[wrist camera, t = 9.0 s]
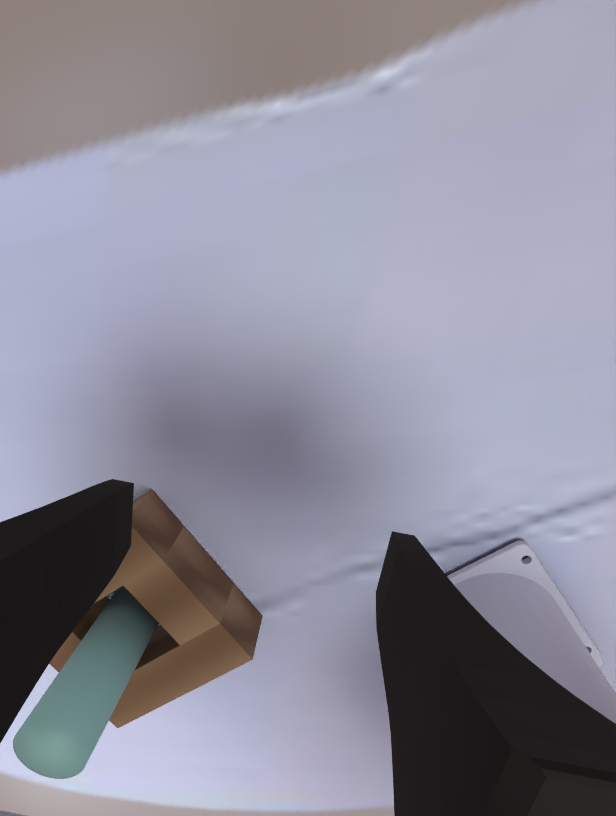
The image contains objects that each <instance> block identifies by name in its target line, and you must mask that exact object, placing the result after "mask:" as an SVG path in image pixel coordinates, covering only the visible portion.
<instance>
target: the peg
mask: <svg viewBox="0 0 616 816" xmlns="http://www.w3.org/2000/svg"><path fill="white" fill-rule="evenodd" d="M158 624H159V623H158V621H157V620H156V619H155V618H154V617H153V616H152V615H151V614H150V613H149V612H148V611H147V610H146V609H145V608H144V607H143V606H142V605H141V604H140V603H139V601H138V600H137V599H136V598H135V597H134V596H133V595H132V594H131V593H130V592H129V591H128V590H127V589H126V588H125V587H124V586H121V587H120V588H118V589H117V590H116V592H115V593H114V595H113V596H112V598H111V599H110V600H109V602H108V603H107V605H106V606H105V608H104V609H103V611H102V612H101V613H100V615H99V616H98V618H97V619H96V621H95V622H94V623H93V625H92V626H91V628H90V629H89V631H88V632H87V633H86V635H85V636H84V638H83V639H82V641H81V642H80V643H79V645H78V646H77V648H76V649H75V651H74V652H73V653H72V655H71V656H70V658H69V659H68V661H67V662H66V664H65V665H64V666H63V668H62V669H61V671H60V672H59V674H58V675H57V676H56V678H55V679H54V681H53V682H52V684H51V685H50V686H49V688H48V689H47V691H46V692H45V694H44V695H43V696H42V698H41V699H40V701H39V702H38V704H37V705H36V706H35V708H34V709H33V711H32V712H31V714H30V715H29V716H28V718H27V719H26V721H25V722H24V724H23V725H22V727H21V728H20V729H19V731H18V732H17V734H16V735H15V737H14V740H13V748H14V752H15V754H16V756H17V757H18V759H19V760H20V761H21V762H22V763H23V764H24V765H25V766H26V767H27V768H29V769H30V770H32V771H34V772H35V773H38V774H40V775H42V776H45V777H49V778H56V779H65V778H70V777H73V776H76V775H77V774H79V773H80V772H81V771H82V770H83V769H84V767H85V765H86V763H87V761H88V759H89V757H90V756H91V754H92V752H93V750H94V748H95V746H96V744H97V742H98V740H99V738H100V736H101V734H102V732H103V730H104V728H105V726H106V724H107V723H108V721H109V719H110V717H111V715H112V713H113V711H114V709H115V707H116V705H117V703H118V701H119V699H120V697H121V695H122V693H123V691H124V690H125V688H126V686H127V684H128V682H129V680H130V678H131V676H132V674H133V672H134V670H135V668H136V666H137V664H138V662H139V660H140V658H141V657H142V655H143V653H144V651H145V649H146V647H147V645H148V643H149V641H150V639H151V637H152V635H153V633H154V631H155V629H156V627H157V625H158Z"/></svg>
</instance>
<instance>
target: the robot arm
mask: <svg viewBox="0 0 616 816" xmlns="http://www.w3.org/2000/svg"><path fill="white" fill-rule="evenodd" d="M133 490H134V483H130V482H124V481H119V480H114V479H112V480H108V481H105V482H102V483H100V484H97V485H95V486H92V487H90V488H87V489H85V490H82V491H80V492H77V493H75V494H73V495H70V496H68V497H65V498H63V499H60V500H58V501H56V502H53V503H51V504H48V505H46V506H43V507H41V508H38V509H35V510H33V511H30V512H27V513H24V514H22V515H19V516H16V517H14V518H11V519H8V520H5V521H3V522H0V743H1V741H2V740H3V738H4V736H5V734H6V733H7V731H8V729H9V728H10V726H11V724H12V723H13V721H14V719H15V718H16V716H17V714H18V712H19V711H20V709H21V707H22V706H23V704H24V703H25V701H26V699H27V698H28V696H29V695H30V693H31V691H32V690H33V688H34V686H35V685H36V683H37V682H38V680H39V678H40V677H41V675H42V674H43V672H44V670H45V669H46V667H47V666H48V664H49V663H50V661H51V660H52V659H53V657H54V656H55V654H56V653H57V651H58V650H59V649H60V647H61V646H62V645H63V643H64V642H65V641H66V639H67V638H68V637H69V636H70V634H71V633H72V632H73V630H74V629H75V628H76V626H77V625H78V624H79V622H80V621H81V620H82V618H83V617H84V616H85V614H86V613H87V612H88V611H89V609H90V608H91V607H92V605H93V604H94V603H95V601H96V600H97V599H98V597H99V596H100V595H101V593H102V592H103V591H104V589H105V588H106V587H107V585H108V584H109V582H110V581H111V580H112V578H113V577H114V575H115V573H116V572H117V570H118V568H119V567H120V565H121V563H122V561H123V560H124V558H125V556H126V554H127V552H128V550H129V549H130V547H131V535H132V513H133ZM524 556H528V557H527V558H526V559H522V557H524ZM376 624H377V635H378V642H379V649H380V657H381V664H382V670H383V677H384V684H385V691H386V698H387V705H388V712H389V721H390V730H391V745H392V764H393V785H394V812H395V816H616V693H615V692H614V690H613V689H612V687H611V686H610V684H609V683H608V681H607V679H606V678H605V676H604V675H603V673H602V672H601V670H600V669H599V667H601V666H602V665H603V662H604V660H603V658H602V656H601V655H600V653H599V652H598V650H597V648H596V647H595V645H594V644H593V642H592V641H591V639H590V638H589V636H588V635H587V633H586V632H585V630H584V629H583V627H582V626H581V624H580V623H579V621H578V620H577V618H576V616H575V615H574V613H573V612H572V610H571V609H570V607H569V606H568V604H567V603H566V601H565V600H564V598H563V597H562V595H561V594H560V592H559V591H558V589H557V588H556V586H555V584H554V583H553V581H552V580H551V578H550V577H549V575H548V574H547V572H546V571H545V569H544V568H543V566H542V565H541V563H540V562H539V560H538V559H537V557H536V556H535V554H534V552H533V551H532V549H531V548H530V546H529V545H528V544H527V543H526V542H524V541H516V542H514V543H512V544H510V545H508V546H506V547H504V548H502V549H500V550H498V551H496V552H494V553H492V554H490V555H488V556H486V557H484V558H482V559H480V560H478V561H476V562H474V563H472V564H470V565H468V566H466V567H464V568H462V569H460V570H458V571H456V572H454V573H452V574H450V575H448V576H446V575H445V574H444V572H443V571H442V570H441V569H440V567H439V566H438V565H437V564H436V562H435V561H434V560H433V558H432V557H431V556H430V555H429V553H428V552H427V551H426V549H425V548H424V547H423V546H422V544H421V543H420V542H419V541H418V539H417V538H416V537H415V536H414V535H408V534H403V533H397V532H392V534H391V537H390V541H389V545H388V549H387V553H386V556H385V560H384V564H383V568H382V571H381V575H380V579H379V583H378V587H377V590H376ZM0 816H26V815H21V814H16V813H11V812H6V811H1V810H0Z"/></svg>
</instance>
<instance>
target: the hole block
mask: <svg viewBox="0 0 616 816" xmlns="http://www.w3.org/2000/svg"><path fill="white" fill-rule="evenodd" d="M121 586H124V587H125V588H126V589H127V590H128V591H129V592H130V593H131V594H132V595H133V596H134V597H135V598H136V599H137V600H138V601H139V603H140V604H141V605H142V606H143V607H144V608H145V609H146V610H147V611H148V612H149V613H150V614H151V615H152V616H153V617H154V618H155V619H156V620H157V621H158V623H159V624H160V626H158V627H157V628H156V629H155V631H154V633H153V635H152V637H151V639H150V641H149V643H148V645H147V647H146V649H145V651H144V653H143V655H142V657H141V658H140V660H139V662H138V664H137V666H136V668H135V670H134V672H133V674H132V676H131V678H130V680H129V682H128V684H127V686H126V688H125V690H124V691H123V693H122V695H121V697H120V699H119V701H118V703H117V705H116V707H115V709H114V711H113V713H112V715H111V717H110V719H109V721H110V722H111V723H113V724H114V725H115V726H116V727H117V728H119V727H121V726H123V725H125V724H127V723H129V722H131V721H133V720H135V719H137V718H139V717H141V716H143V715H145V714H147V713H149V712H151V711H153V710H155V709H156V708H158V707H160V706H162V705H164V704H166V703H168V702H170V701H172V700H174V699H176V698H178V697H180V696H182V695H184V694H186V693H188V692H190V691H192V690H194V689H196V688H198V687H199V686H201V685H203V684H205V683H207V682H209V681H211V680H213V679H215V678H217V677H219V676H221V675H223V674H225V673H227V672H229V671H231V670H233V669H235V668H237V667H239V666H241V665H243V664H244V663H246V662H248V661H250V660H252V659H253V655H254V651H255V646H256V642H257V637H258V633H259V629H260V624H261V620H262V615H261V614H260V613H259V612H258V611H257V609H256V608H255V607H254V606H253V605H252V604H251V603H250V601H249V600H248V599H247V598H246V597H245V596H244V595H243V593H242V592H241V591H240V590H239V589H238V588H237V587H236V585H235V584H234V583H233V582H232V581H231V580H230V579H229V577H228V576H227V575H226V574H225V573H224V572H223V570H222V569H221V568H220V567H219V566H218V565H217V564H216V562H215V561H214V560H213V559H212V558H211V557H210V556H209V554H208V553H207V552H206V551H205V550H204V549H203V548H202V546H201V545H200V544H199V543H198V542H197V541H196V540H195V538H194V537H193V536H192V535H191V534H190V533H189V532H188V530H187V529H186V528H185V527H184V526H183V525H182V523H181V522H180V521H179V520H178V519H177V518H176V517H175V515H174V514H173V513H172V512H171V511H170V510H169V509H168V507H167V506H166V505H165V504H164V503H163V502H162V501H161V499H160V498H159V497H158V496H157V495H156V494H155V493H154V491H153V490H150V491H149V492H147V493H146V494H144V495H143V496H141V497H140V498H138V499H137V500H135V501H134V502H133V513H132V535H131V547H130V549H129V550H128V552H127V554H126V556H125V558H124V560H123V561H122V563H121V565H120V567H119V568H118V570H117V572H116V573H115V575H114V577H113V578H112V580H111V581H110V582H109V584H108V585H107V587H106V588H105V589H104V591H103V592H102V593H101V595H100V596H99V597H98V599H97V600H96V601H95V603H94V604H93V605H92V607H91V608H90V609H89V611H88V612H87V613H86V614H85V616H84V617H83V618H82V620H81V621H80V622H79V624H78V625H77V626H76V628H75V629H74V630H73V632H72V633H71V634H70V636H69V637H68V638H67V639H66V641H65V642H64V643H63V645H62V646H61V647H60V649H59V650H58V651H57V653H56V654H55V656H54V657H53V659H52V660H51V661H50V663H49V664H50V665H51V666H52V667H54V668H55V669H56V670H57V671H58V672H60V671H61V669H62V668H63V666H64V665H65V664H66V662H67V661H68V659H69V658H70V656H71V655H72V653H73V652H74V651H75V649H76V648H77V646H78V645H79V643H80V642H81V641H82V639H83V638H84V636H85V635H86V633H87V632H88V631H89V629H90V628H91V626H92V625H93V623H94V622H95V621H96V619H97V618H98V616H99V615H100V613H101V612H102V611H103V609H104V608H105V606H106V605H107V603H108V602H109V599H108V598H107V597H106V596H107V595H108V594H110V593H112V592H113V591H115V590H117V589H118V588H120V587H121Z"/></svg>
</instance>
